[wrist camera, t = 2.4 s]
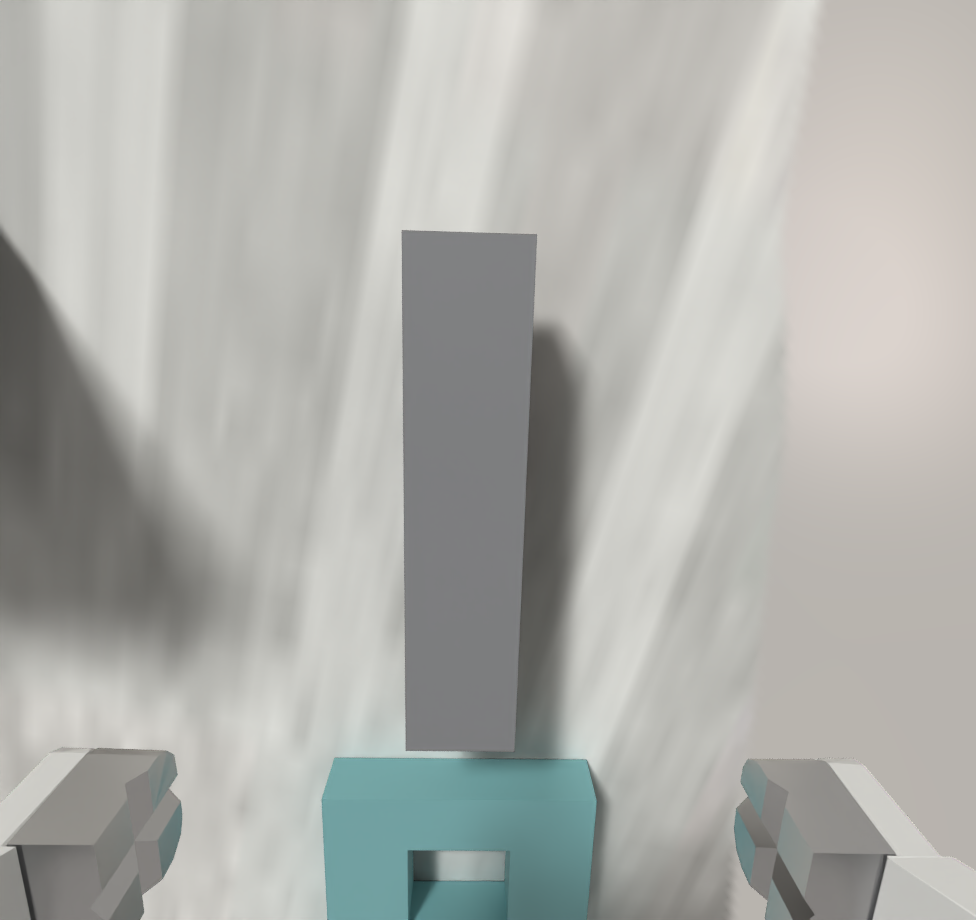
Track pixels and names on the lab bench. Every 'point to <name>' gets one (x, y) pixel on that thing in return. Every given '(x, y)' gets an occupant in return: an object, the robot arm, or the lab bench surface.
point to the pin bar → (464, 482)
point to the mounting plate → (458, 837)
